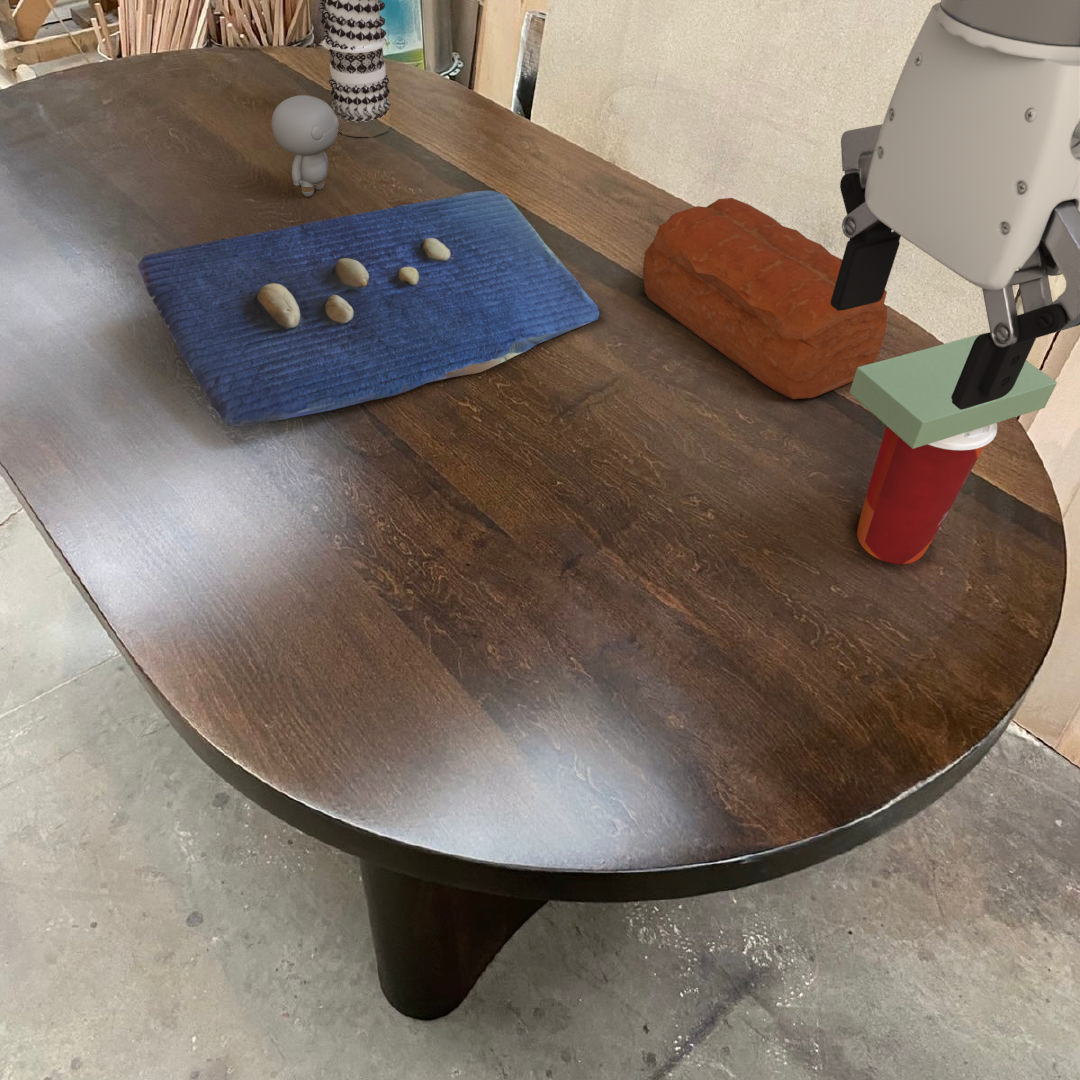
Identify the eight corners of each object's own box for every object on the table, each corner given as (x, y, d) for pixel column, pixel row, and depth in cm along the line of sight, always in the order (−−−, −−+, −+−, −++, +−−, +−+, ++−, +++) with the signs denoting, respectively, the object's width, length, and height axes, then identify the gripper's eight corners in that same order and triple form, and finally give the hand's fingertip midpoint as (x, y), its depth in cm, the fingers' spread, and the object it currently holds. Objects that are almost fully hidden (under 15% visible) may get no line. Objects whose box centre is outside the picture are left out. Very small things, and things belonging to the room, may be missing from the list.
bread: (725, 260, 119) (741, 176, 112) (890, 367, 104) (921, 278, 96) (625, 293, 113) (635, 206, 105) (785, 412, 97) (809, 321, 90)
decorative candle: (330, 139, 140) (306, -57, 123) (333, 114, 147) (312, -76, 129) (393, 139, 141) (379, -56, 124) (394, 114, 148) (381, -74, 130)
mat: (471, 236, 126) (490, 161, 117) (590, 383, 116) (620, 314, 107) (125, 318, 104) (114, 233, 95) (237, 508, 94) (236, 434, 85)
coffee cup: (959, 560, 83) (1027, 422, 72) (880, 584, 81) (939, 444, 70) (899, 498, 88) (955, 361, 78) (824, 519, 86) (871, 380, 75)
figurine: (320, 211, 124) (308, 117, 116) (272, 198, 126) (256, 104, 118) (355, 187, 129) (345, 95, 121) (308, 175, 132) (296, 84, 123)
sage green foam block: (976, 357, 78) (987, 331, 77) (1044, 408, 74) (1057, 382, 72) (848, 392, 74) (857, 366, 73) (912, 449, 70) (923, 423, 68)
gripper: (1298, 51, 35) (1090, 426, 47) (964, -68, 46) (865, 261, 58) (1153, 76, 32) (973, 464, 44) (836, -56, 43) (761, 284, 55)
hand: (912, 349), depth 51 cm, fingers open, 9 cm apart
